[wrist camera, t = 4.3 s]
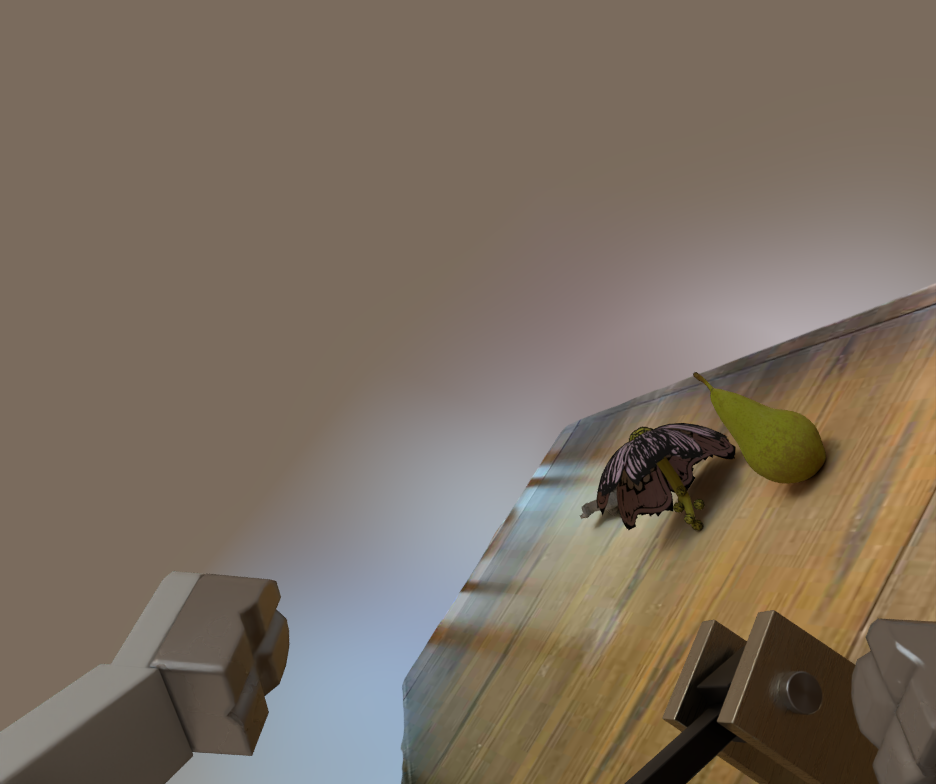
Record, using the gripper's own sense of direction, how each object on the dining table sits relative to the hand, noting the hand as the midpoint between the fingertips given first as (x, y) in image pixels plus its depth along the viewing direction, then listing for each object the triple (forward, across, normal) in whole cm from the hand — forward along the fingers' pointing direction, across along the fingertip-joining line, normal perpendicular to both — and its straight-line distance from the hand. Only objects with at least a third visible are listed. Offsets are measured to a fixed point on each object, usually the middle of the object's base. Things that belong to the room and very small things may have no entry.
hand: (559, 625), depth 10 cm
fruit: (+42, +21, -30) cm, 56 cm away
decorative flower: (+54, +16, -43) cm, 71 cm away
